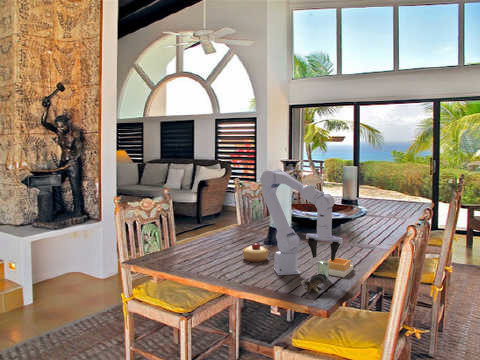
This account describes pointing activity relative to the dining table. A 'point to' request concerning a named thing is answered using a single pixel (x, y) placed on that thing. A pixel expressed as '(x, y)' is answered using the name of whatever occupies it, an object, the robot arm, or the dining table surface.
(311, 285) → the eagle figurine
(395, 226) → the dining table surface
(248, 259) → the pastry
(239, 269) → the dining table surface
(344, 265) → the orange and cream box
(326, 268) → the green can
